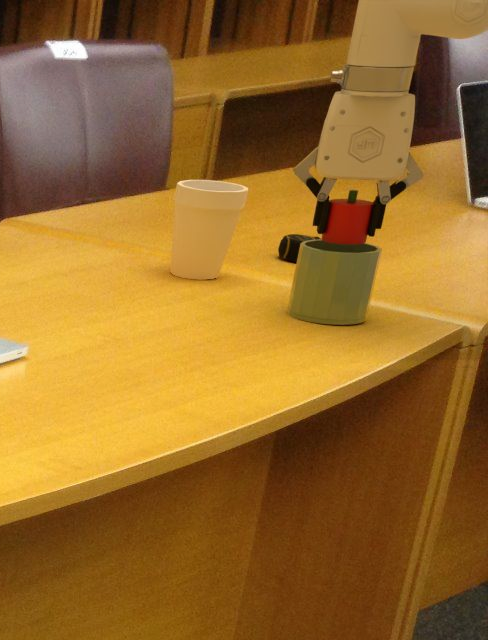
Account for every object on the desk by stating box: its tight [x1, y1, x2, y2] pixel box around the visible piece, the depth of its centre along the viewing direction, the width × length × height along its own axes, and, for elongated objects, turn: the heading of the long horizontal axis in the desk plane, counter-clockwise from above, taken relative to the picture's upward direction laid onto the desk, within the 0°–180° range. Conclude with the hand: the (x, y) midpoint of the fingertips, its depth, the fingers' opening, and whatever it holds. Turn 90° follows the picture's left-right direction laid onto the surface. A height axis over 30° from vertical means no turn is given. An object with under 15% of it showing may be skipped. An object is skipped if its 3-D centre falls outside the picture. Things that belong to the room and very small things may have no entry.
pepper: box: [320, 189, 374, 244], centre depth 194 cm, size 5×5×6 cm
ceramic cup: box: [286, 239, 383, 326], centre depth 197 cm, size 9×9×9 cm
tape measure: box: [277, 233, 322, 263], centre depth 229 cm, size 7×7×4 cm
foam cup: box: [169, 179, 249, 280], centre depth 217 cm, size 10×9×13 cm
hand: (345, 232), depth 195 cm, fingers closed on pepper, 5 cm apart
